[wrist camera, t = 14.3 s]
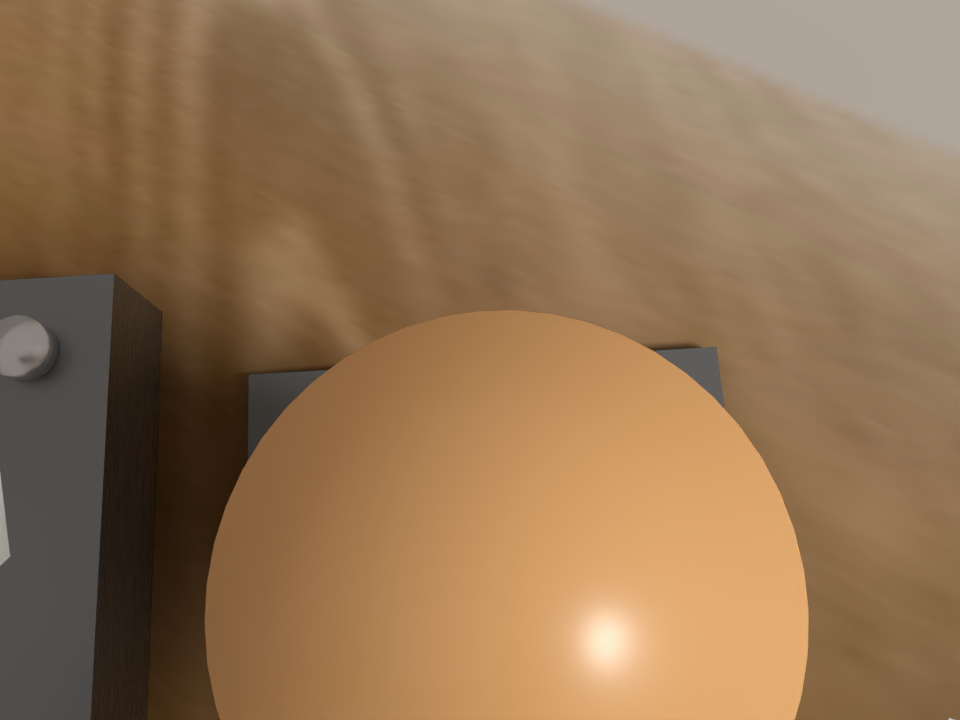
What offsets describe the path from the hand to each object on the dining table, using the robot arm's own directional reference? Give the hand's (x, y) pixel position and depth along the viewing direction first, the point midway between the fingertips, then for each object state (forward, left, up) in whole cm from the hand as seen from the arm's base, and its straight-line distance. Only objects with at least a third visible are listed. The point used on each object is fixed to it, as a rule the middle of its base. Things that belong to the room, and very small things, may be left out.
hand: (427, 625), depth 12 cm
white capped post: (-1, 0, -9) cm, 9 cm away
